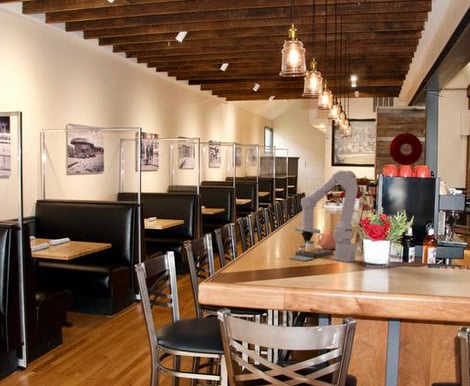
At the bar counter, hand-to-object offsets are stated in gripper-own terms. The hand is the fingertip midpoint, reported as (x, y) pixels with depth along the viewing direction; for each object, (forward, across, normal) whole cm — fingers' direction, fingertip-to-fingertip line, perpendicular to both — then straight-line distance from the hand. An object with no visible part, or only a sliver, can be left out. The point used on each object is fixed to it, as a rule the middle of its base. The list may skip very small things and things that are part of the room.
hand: (307, 246), depth 258 cm
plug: (+4, +4, -4) cm, 7 cm away
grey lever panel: (+4, +4, +1) cm, 6 cm away
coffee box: (+4, +19, +30) cm, 36 cm away
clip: (+2, 0, -4) cm, 4 cm away
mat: (+4, +7, -15) cm, 17 cm away
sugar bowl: (+4, -3, +25) cm, 26 cm away
